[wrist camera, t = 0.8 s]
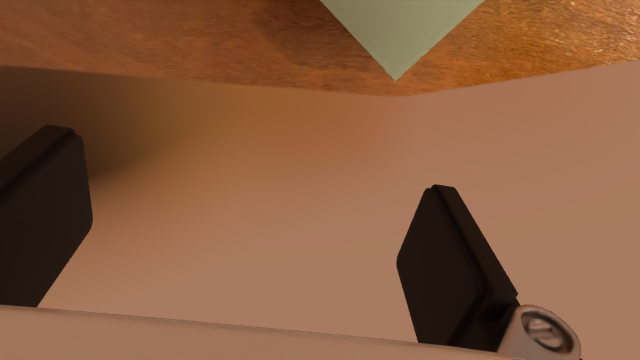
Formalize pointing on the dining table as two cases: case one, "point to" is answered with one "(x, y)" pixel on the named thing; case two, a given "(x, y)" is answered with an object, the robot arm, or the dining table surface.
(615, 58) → the dining table surface
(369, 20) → the cabinet
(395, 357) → the robot arm
